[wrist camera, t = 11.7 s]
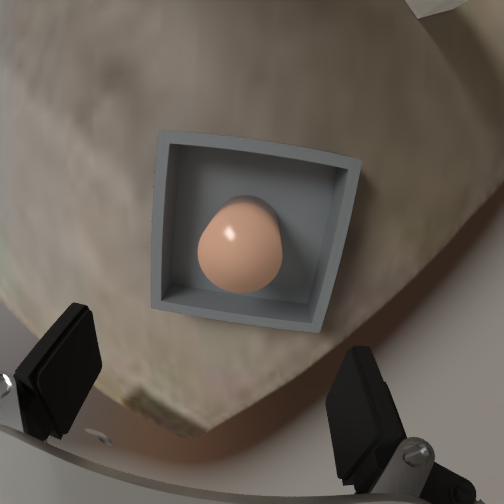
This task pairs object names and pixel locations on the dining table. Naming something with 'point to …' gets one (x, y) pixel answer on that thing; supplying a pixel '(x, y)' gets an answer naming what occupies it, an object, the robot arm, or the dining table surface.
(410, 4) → the milk
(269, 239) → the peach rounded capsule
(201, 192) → the bin
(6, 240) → the dining table surface
